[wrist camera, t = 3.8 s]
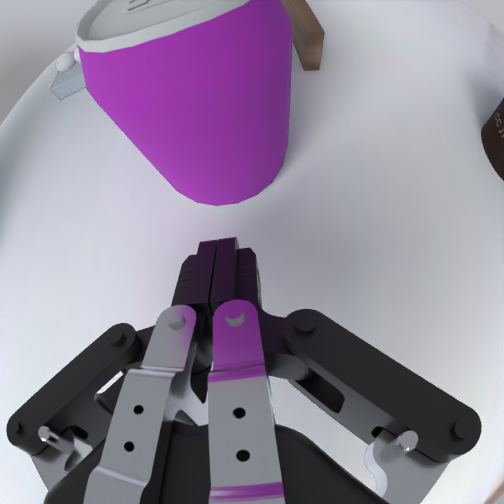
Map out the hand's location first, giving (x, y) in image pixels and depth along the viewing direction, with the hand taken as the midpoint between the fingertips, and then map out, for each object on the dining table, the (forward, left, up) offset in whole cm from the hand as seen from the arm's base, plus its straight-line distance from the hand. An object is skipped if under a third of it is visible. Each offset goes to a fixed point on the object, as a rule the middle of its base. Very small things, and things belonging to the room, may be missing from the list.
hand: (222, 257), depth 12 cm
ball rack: (-13, +22, -4) cm, 26 cm away
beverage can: (0, +7, -4) cm, 8 cm away
